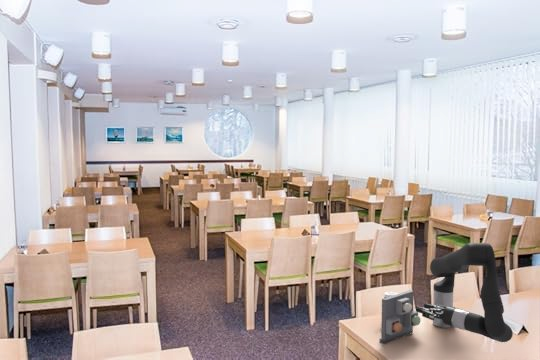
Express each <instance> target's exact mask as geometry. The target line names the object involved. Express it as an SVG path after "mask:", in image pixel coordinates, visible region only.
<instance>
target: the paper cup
mask: <svg viewBox="0 0 540 360" xmlns="http://www.w3.org/2000/svg"><path fill="white" fill-rule="evenodd" d="M396 294H399V292H395V291H386V292H384V294H383V299H384V298H387V297H390V296H393V295H396Z"/></svg>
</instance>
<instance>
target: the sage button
mask: <svg viewBox="0 0 540 360" xmlns="http://www.w3.org/2000/svg"><path fill="white" fill-rule="evenodd" d="M411 323H412V324H415V325H416V326H419V325H420V324H421V317H420V316H419V315H418V316H416V315H413V316H412V317H411Z"/></svg>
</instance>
